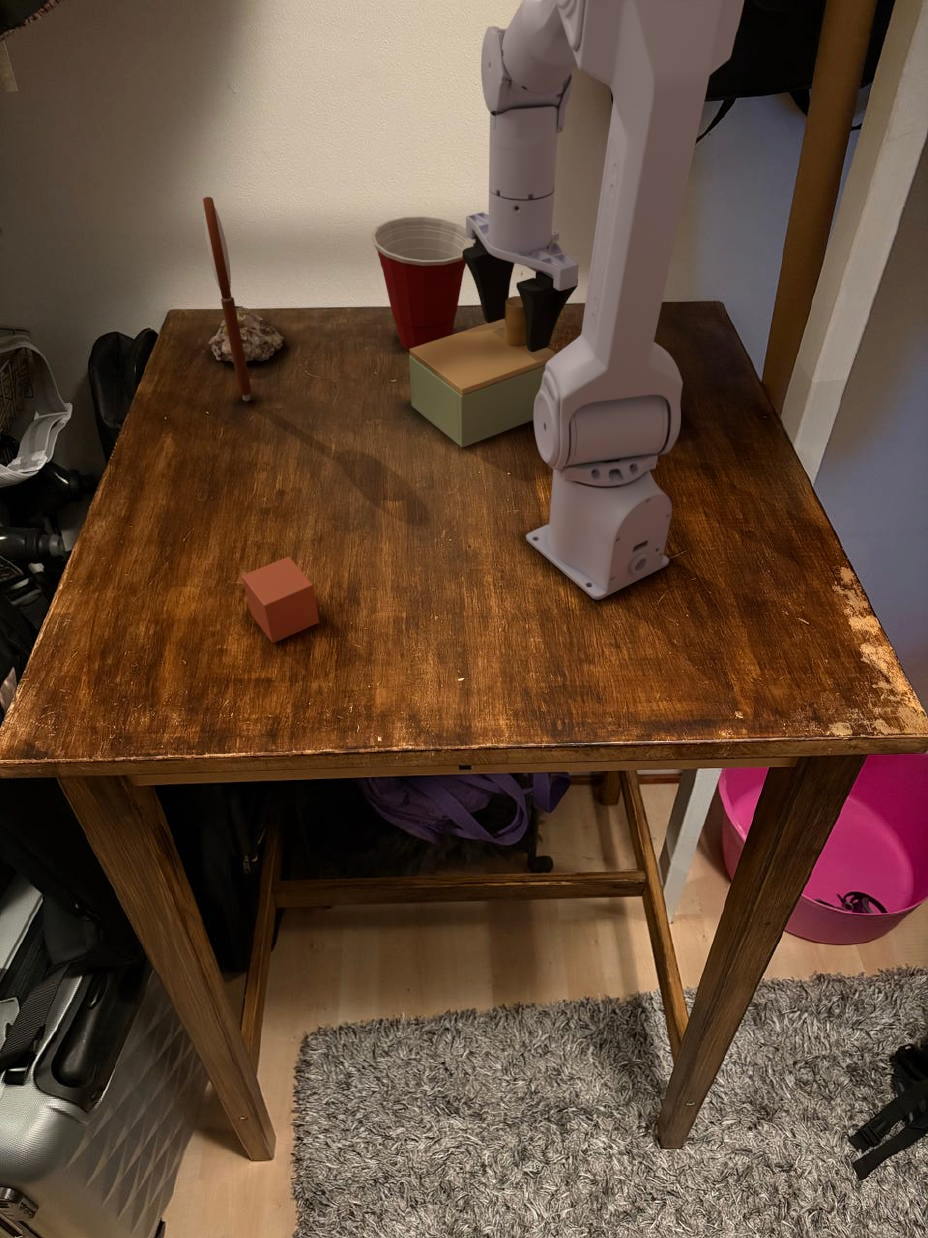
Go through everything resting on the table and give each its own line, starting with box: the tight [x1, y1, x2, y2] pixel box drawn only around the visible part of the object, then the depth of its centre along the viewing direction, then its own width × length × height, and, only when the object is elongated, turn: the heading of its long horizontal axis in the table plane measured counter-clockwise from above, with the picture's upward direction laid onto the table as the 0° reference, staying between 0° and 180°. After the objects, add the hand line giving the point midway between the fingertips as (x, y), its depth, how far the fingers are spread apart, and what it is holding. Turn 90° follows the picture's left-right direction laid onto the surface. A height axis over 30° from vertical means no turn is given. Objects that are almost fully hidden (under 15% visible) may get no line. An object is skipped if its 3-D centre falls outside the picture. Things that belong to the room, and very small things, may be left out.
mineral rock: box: [207, 305, 285, 363], centre depth 101 cm, size 11×4×8 cm
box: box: [408, 354, 546, 449], centre depth 90 cm, size 9×11×6 cm
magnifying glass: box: [202, 196, 252, 402], centre depth 86 cm, size 9×2×20 cm, turn 14°
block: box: [241, 556, 320, 644], centre depth 69 cm, size 4×4×4 cm
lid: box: [408, 295, 557, 395], centre depth 86 cm, size 9×11×5 cm
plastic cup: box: [370, 216, 475, 352], centre depth 98 cm, size 11×11×12 cm
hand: (516, 333), depth 89 cm, fingers open, 6 cm apart
